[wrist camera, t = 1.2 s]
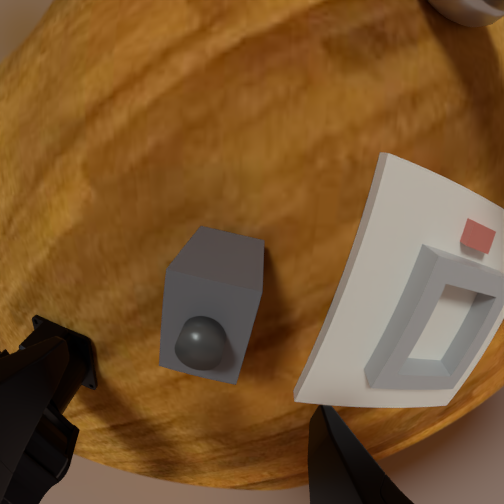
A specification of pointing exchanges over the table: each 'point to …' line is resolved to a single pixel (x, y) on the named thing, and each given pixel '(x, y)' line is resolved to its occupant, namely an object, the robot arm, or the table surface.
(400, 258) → the socket
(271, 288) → the table surface
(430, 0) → the plastic bottle
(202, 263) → the plug
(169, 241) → the table surface
